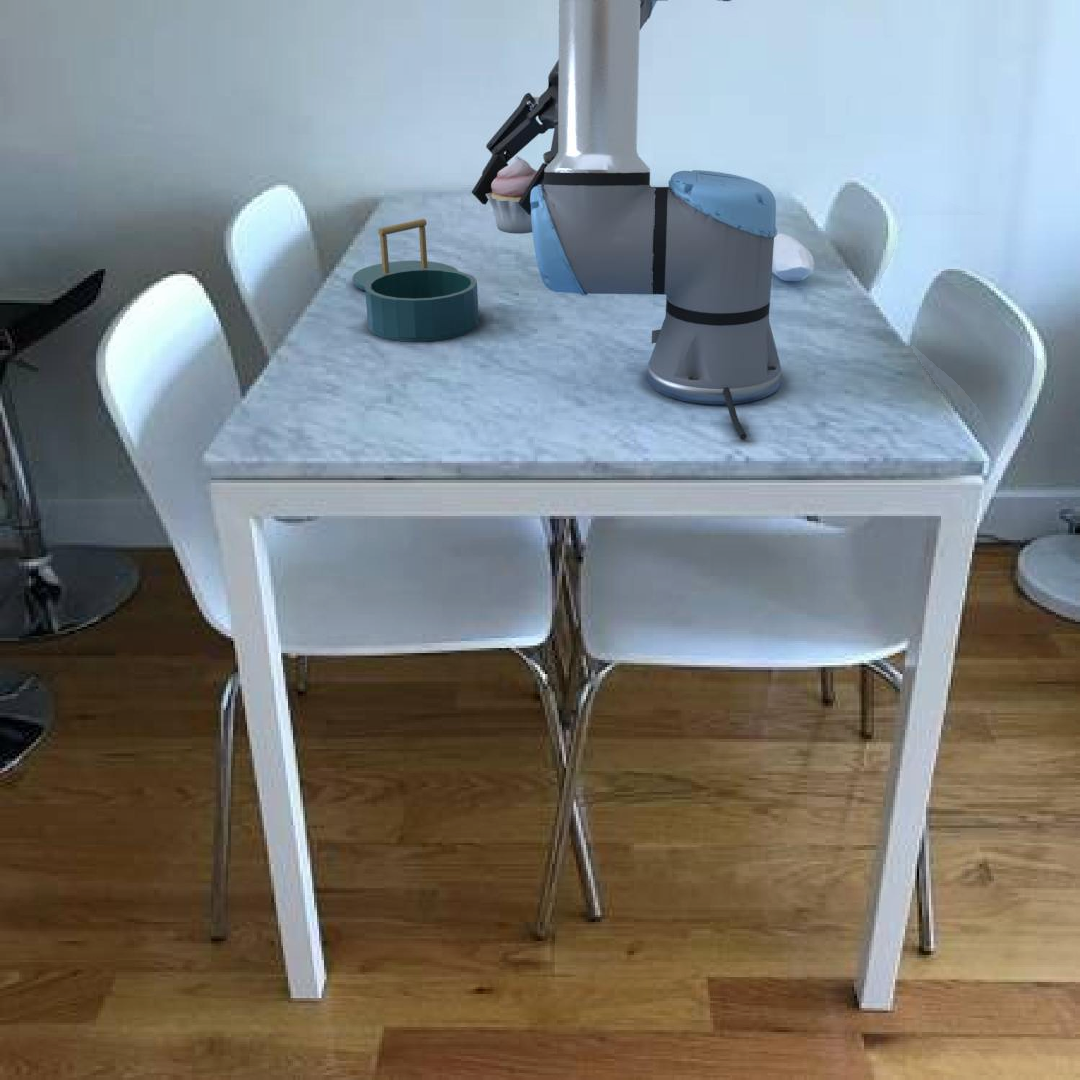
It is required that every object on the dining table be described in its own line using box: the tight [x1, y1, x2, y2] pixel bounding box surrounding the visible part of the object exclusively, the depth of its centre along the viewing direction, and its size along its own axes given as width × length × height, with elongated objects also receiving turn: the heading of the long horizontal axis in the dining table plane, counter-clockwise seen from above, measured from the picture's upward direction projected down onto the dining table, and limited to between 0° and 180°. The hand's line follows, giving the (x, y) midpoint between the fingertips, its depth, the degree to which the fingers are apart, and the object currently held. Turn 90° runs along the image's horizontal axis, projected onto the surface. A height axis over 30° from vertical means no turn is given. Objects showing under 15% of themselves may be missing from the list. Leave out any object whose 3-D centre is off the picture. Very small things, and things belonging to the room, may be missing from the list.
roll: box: [772, 233, 815, 282], centre depth 178 cm, size 6×12×6 cm, turn 7°
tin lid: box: [352, 218, 459, 291], centre depth 179 cm, size 16×16×9 cm
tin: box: [364, 268, 480, 343], centre depth 163 cm, size 15×15×6 cm
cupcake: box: [486, 155, 538, 235], centre depth 171 cm, size 9×9×10 cm
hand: (501, 203), depth 170 cm, fingers closed on cupcake, 9 cm apart
